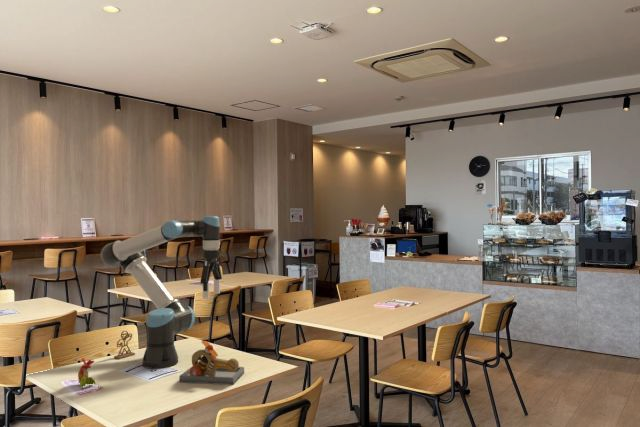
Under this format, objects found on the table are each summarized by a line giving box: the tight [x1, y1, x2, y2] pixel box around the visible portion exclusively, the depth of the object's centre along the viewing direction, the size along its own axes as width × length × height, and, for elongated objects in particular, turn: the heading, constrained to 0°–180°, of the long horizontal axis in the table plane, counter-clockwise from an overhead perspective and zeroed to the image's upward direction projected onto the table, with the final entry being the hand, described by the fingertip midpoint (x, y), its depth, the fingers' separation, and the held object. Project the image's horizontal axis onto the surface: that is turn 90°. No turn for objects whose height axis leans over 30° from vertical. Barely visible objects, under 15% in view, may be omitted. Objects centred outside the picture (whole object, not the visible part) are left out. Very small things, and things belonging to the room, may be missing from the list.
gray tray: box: [179, 365, 245, 386], centre depth 196 cm, size 22×14×2 cm, turn 82°
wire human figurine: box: [113, 330, 136, 360], centre depth 227 cm, size 9×4×12 cm, turn 149°
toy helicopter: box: [190, 340, 240, 376], centre depth 193 cm, size 8×21×14 cm, turn 70°
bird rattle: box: [77, 357, 97, 388], centre depth 188 cm, size 6×11×9 cm
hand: (211, 295), depth 223 cm, fingers open, 13 cm apart
